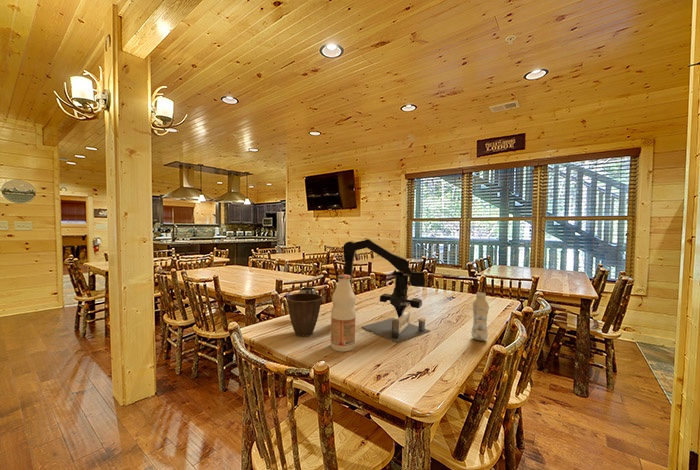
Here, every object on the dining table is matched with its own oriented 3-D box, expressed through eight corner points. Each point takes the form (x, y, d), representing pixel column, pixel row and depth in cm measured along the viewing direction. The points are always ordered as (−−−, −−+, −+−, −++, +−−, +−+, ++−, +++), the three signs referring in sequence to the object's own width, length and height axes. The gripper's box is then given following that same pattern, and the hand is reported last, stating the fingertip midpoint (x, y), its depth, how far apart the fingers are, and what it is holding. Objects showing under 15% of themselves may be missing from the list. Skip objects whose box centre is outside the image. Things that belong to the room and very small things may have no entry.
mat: (397, 343, 117) (397, 342, 117) (361, 327, 134) (361, 326, 134) (429, 331, 131) (429, 330, 131) (393, 318, 148) (393, 317, 148)
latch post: (422, 333, 128) (422, 320, 128) (417, 331, 130) (418, 318, 130) (425, 332, 130) (425, 319, 130) (420, 330, 132) (421, 317, 131)
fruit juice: (327, 350, 108) (328, 276, 108) (334, 340, 118) (336, 272, 117) (351, 353, 106) (353, 278, 105) (357, 343, 115) (358, 274, 114)
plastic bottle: (486, 338, 124) (488, 292, 124) (488, 344, 118) (490, 295, 117) (470, 335, 126) (472, 290, 126) (471, 341, 120) (473, 294, 119)
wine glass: (308, 321, 140) (308, 291, 140) (295, 318, 144) (296, 288, 144) (318, 317, 147) (318, 288, 146) (306, 314, 151) (306, 286, 151)
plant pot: (279, 333, 124) (279, 296, 124) (306, 325, 135) (307, 291, 135) (300, 343, 114) (301, 303, 114) (328, 333, 125) (328, 297, 125)
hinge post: (395, 340, 120) (395, 322, 119) (389, 338, 122) (390, 320, 122) (400, 338, 121) (400, 321, 121) (394, 336, 124) (395, 319, 123)
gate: (398, 335, 123) (398, 321, 123) (394, 334, 124) (395, 320, 123) (409, 324, 136) (409, 311, 136) (406, 323, 137) (406, 311, 137)
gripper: (375, 285, 130) (374, 319, 130) (416, 291, 121) (414, 328, 121) (384, 281, 140) (383, 313, 140) (423, 287, 130) (421, 321, 131)
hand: (399, 318), depth 133 cm, fingers closed
